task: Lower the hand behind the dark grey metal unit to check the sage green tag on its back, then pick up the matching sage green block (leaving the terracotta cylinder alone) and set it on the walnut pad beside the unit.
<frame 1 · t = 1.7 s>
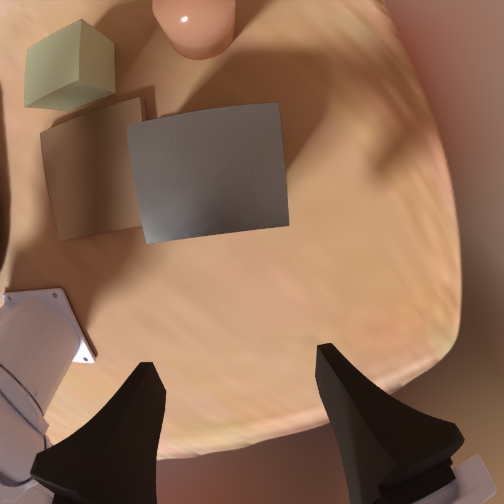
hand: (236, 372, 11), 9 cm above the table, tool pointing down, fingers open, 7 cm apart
terracotta cylinder: (202, 33, 13), on the table
pad: (97, 171, 15), on the table
sage block: (89, 76, 13), on the table
unit: (216, 163, 16), on the table
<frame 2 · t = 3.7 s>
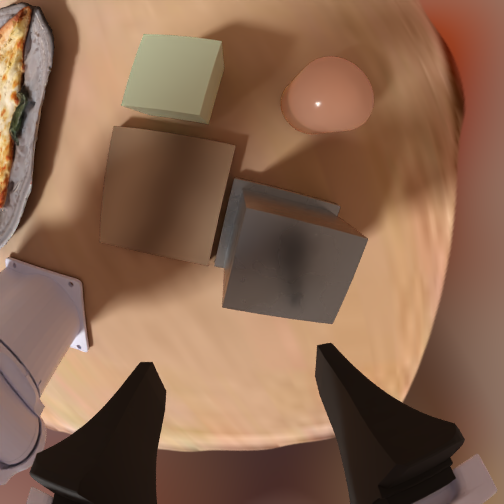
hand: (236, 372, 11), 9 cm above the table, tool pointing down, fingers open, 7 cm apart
terracotta cylinder: (310, 105, 16), on the table
pad: (162, 193, 17), on the table
sage block: (186, 90, 15), on the table
unit: (275, 232, 19), on the table
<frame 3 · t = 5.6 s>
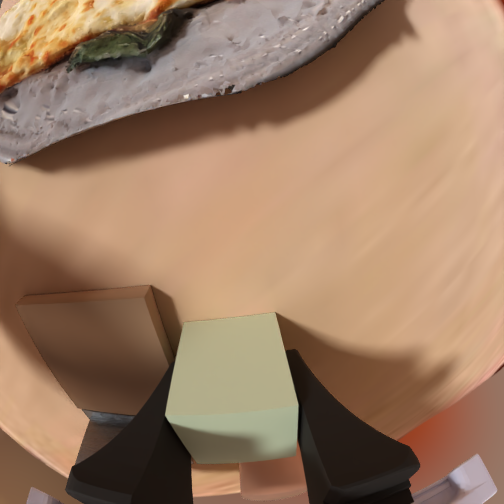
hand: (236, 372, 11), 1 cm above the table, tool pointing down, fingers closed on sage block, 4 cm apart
terracotta cylinder: (267, 430, 15), on the table
pad: (105, 356, 12), on the table
sage block: (235, 351, 12), on the table, touching gripper
unit: (141, 433, 15), on the table
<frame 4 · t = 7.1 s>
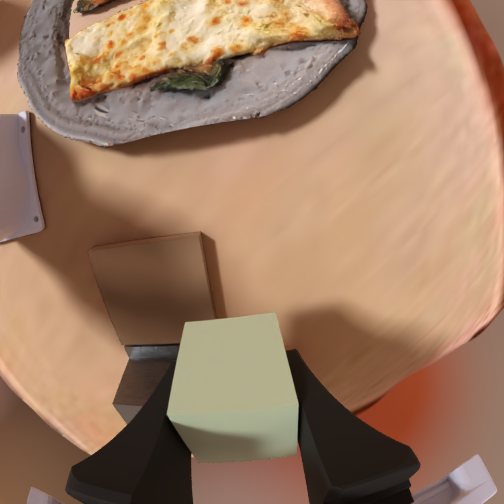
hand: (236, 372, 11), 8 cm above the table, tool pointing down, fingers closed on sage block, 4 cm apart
pad: (156, 292, 19), on the table
sage block: (236, 351, 12), point 7 cm above the table, touching gripper
unit: (171, 370, 21), on the table
when the fingers open (4 cm above the table, at t = 8.7 s): sage block drops 1 cm, resting on pad.
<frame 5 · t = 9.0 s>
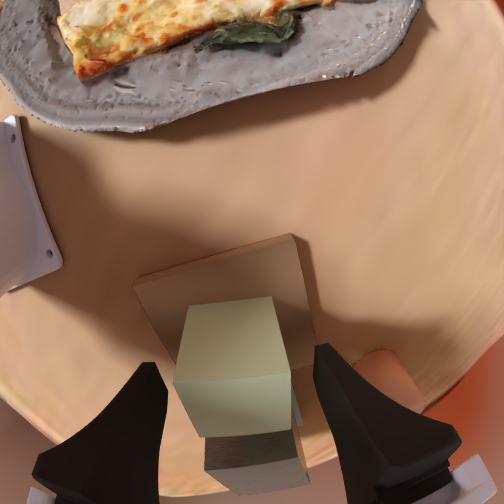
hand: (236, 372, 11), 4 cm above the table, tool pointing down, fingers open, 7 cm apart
terracotta cylinder: (372, 369, 17), on the table
pad: (234, 321, 15), on the table
sage block: (235, 333, 14), point 1 cm above the table, touching pad
unit: (255, 405, 18), on the table
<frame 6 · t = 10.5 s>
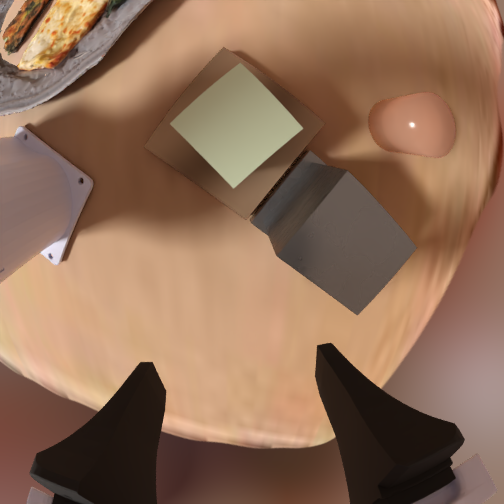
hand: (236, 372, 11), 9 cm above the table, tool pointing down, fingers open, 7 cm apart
terracotta cylinder: (391, 125, 16), on the table
pad: (234, 131, 16), on the table
sage block: (235, 130, 15), point 1 cm above the table, touching pad
unit: (317, 217, 18), on the table
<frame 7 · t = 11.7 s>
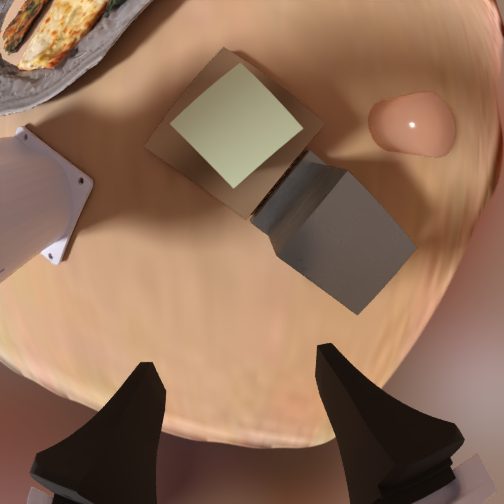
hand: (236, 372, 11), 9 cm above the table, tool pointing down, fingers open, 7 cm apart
terracotta cylinder: (391, 125, 16), on the table
pad: (234, 131, 16), on the table
sage block: (235, 130, 15), point 1 cm above the table, touching pad
unit: (317, 217, 18), on the table
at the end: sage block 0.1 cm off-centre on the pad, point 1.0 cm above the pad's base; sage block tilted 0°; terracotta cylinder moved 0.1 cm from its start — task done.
